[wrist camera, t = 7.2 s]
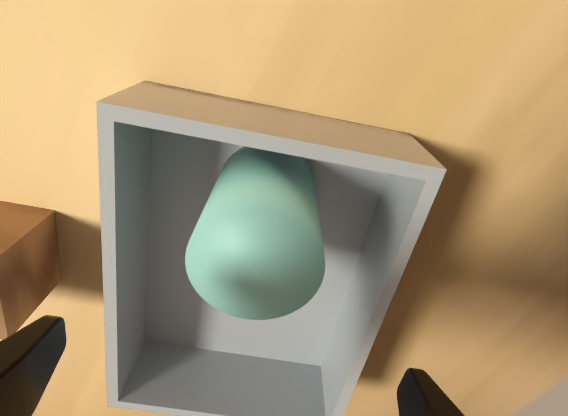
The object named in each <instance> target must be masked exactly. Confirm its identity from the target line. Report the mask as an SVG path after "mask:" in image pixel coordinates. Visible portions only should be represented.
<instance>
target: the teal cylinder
mask: <svg viewBox="0 0 568 416" xmlns="http://www.w3.org/2000/svg"><path fill="white" fill-rule="evenodd" d="M185 265H186V271H187V275H188V278H189V280H190V282H191V284H192V286H193V287H194V289H195V290H196V292H197V293H198V294H199V295H200V296H201V297H202V298H203V299H204V300H205V301H206V302H207V303H208V304H210V305H211V306H213V307H214V308H216V309H218V310H219V311H221V312H224V313H226V314H228V315H231V316H234V317H238V318H243V319H249V320H268V319H274V318H279V317H282V316H286V315H288V314H290V313H293V312H295V311H296V310H298V309H300V308H301V307H303V306H304V305H305V304H307V303H308V302H309V301H310V300H311V299H312V298H313V297H314V295H315V294H316V293H317V291H318V289H319V288H320V286H321V284H322V281H323V278H324V274H325V256H324V249H323V242H322V235H321V228H320V221H319V214H318V207H317V200H316V192H315V185H314V179H313V175H312V172H311V170H310V167H309V166H308V164H307V163H306V161H305V160H304V159H303V158H302V157H299V156H293V155H288V154H283V153H278V152H272V151H267V150H262V149H257V148H251V147H246V146H244V147H242V148H240V149H238V150H237V151H236V152H234V153H233V154H232V155H231V156H230V157H229V158H228V160H227V161H226V162H225V164H224V166H223V168H222V170H221V172H220V175H219V177H218V179H217V181H216V183H215V185H214V188H213V190H212V192H211V194H210V196H209V198H208V201H207V203H206V205H205V207H204V209H203V211H202V214H201V216H200V218H199V220H198V222H197V224H196V227H195V229H194V231H193V233H192V235H191V237H190V240H189V242H188V245H187V248H186V254H185Z"/></svg>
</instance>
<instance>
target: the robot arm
mask: <svg viewBox="0 0 568 416" xmlns="http://www.w3.org/2000/svg"><path fill="white" fill-rule="evenodd" d="M65 346H66V332H65V322H64V319H63V318H62V317H57V316H51V315H46V316H43V317H41V318H39V319H38V320H36V321H34V322H32V323H31V324H29V325H27V326H26V327H24V328H22V329H21V330H19V331H17V332H15V333H14V334H12V335H10V336H9V337H7V338H5V339H4V340H2V341H0V416H32V414H33V412H34V411H35V409H36V407H37V405H38V403H39V401H40V399H41V397H42V395H43V393H44V390H45V388H46V386H47V384H48V382H49V380H50V378H51V376H52V374H53V372H54V370H55V368H56V366H57V364H58V362H59V359H60V357H61V355H62V353H63V351H64V349H65ZM397 400H398V408H399V416H464V415H463V413H462V412H461V411H460V410H459V409H458V408H457V407H456V406H455V404H454V403H453V402H452V401H451V400H450V399H449V398H448V397H447V395H446V394H445V393H444V392H443V391H442V390H441V389H440V387H439V386H438V385H437V384H436V383H435V382H434V381H433V380H432V378H431V377H430V376H429V375H428V374H427V373H426V372H425V371H424V370H421V369H415V368H408V369H407V370H406V372H405V374H404V376H403V378H402V380H401V382H400V384H399V386H398V389H397Z"/></svg>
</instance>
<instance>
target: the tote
mask: <svg viewBox="0 0 568 416" xmlns="http://www.w3.org/2000/svg"><path fill="white" fill-rule="evenodd" d="M97 130H98V158H99V186H100V215H101V243H102V271H103V299H104V327H105V355H106V383H107V407H114V408H122V409H129V410H137V411H145V412H152V413H160V414H167V415H175V416H343V414H344V412H345V410H346V407H347V405H348V402H349V400H350V398H351V395H352V393H353V391H354V388H355V386H356V384H357V381H358V379H359V376H360V374H361V372H362V369H363V367H364V365H365V362H366V360H367V358H368V355H369V353H370V350H371V348H372V346H373V343H374V341H375V339H376V336H377V334H378V331H379V329H380V327H381V324H382V322H383V320H384V317H385V315H386V313H387V310H388V308H389V305H390V303H391V301H392V298H393V296H394V294H395V291H396V289H397V287H398V284H399V282H400V279H401V277H402V275H403V272H404V270H405V268H406V265H407V263H408V261H409V258H410V256H411V253H412V251H413V249H414V246H415V244H416V242H417V239H418V237H419V234H420V232H421V230H422V227H423V225H424V223H425V220H426V218H427V216H428V213H429V211H430V208H431V206H432V204H433V201H434V199H435V197H436V194H437V192H438V190H439V187H440V185H441V182H442V180H443V178H444V175H445V173H446V171H447V169H446V168H445V167H444V166H443V165H442V164H441V163H440V162H439V161H438V160H436V159H435V158H434V157H433V156H432V155H431V154H430V153H429V152H428V151H427V150H426V149H425V148H424V147H423V146H422V145H421V144H420V143H419V142H418V141H416V140H415V139H414V138H413V137H412V136H411V135H410V134H409V133H404V132H399V131H394V130H389V129H384V128H379V127H374V126H369V125H364V124H359V123H354V122H349V121H344V120H339V119H334V118H329V117H324V116H319V115H314V114H309V113H304V112H299V111H294V110H289V109H284V108H279V107H274V106H269V105H264V104H259V103H254V102H249V101H244V100H239V99H234V98H229V97H224V96H219V95H214V94H209V93H204V92H199V91H194V90H189V89H184V88H179V87H174V86H169V85H164V84H159V83H154V82H149V81H143V82H141V83H139V84H136V85H134V86H132V87H129V88H127V89H125V90H122V91H120V92H118V93H115V94H113V95H111V96H108V97H106V98H104V99H101V100H99V101H97ZM244 146H246V147H251V148H257V149H262V150H267V151H272V152H278V153H283V154H288V155H293V156H299V157H302V158H303V159H304V160H305V161H306V163H307V164H308V166H309V167H310V170H311V172H312V175H313V179H314V185H315V192H316V200H317V207H318V214H319V221H320V228H321V235H322V242H323V249H324V256H325V274H324V278H323V281H322V284H321V286H320V288H319V289H318V291H317V293H316V294H315V295H314V297H313V298H312V299H311V300H310V301H309V302H308V303H307V304H305V305H304V306H303V307H301V308H300V309H298V310H296V311H295V312H293V313H290V314H288V315H286V316H282V317H279V318H274V319H268V320H249V319H243V318H238V317H234V316H231V315H228V314H226V313H224V312H221V311H219V310H218V309H216V308H214V307H213V306H211V305H210V304H208V303H207V302H206V301H205V300H204V299H203V298H202V297H201V296H200V295H199V294H198V293H197V292H196V290H195V289H194V287H193V286H192V284H191V282H190V280H189V278H188V275H187V271H186V265H185V254H186V248H187V245H188V242H189V240H190V237H191V235H192V233H193V231H194V229H195V227H196V224H197V222H198V220H199V218H200V216H201V214H202V211H203V209H204V207H205V205H206V203H207V201H208V198H209V196H210V194H211V192H212V190H213V188H214V185H215V183H216V181H217V179H218V177H219V175H220V172H221V170H222V168H223V166H224V164H225V162H226V161H227V160H228V158H229V157H230V156H231V155H232V154H233V153H234V152H236V151H237V150H238V149H240V148H242V147H244Z"/></svg>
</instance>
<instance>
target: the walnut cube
mask: <svg viewBox="0 0 568 416" xmlns="http://www.w3.org/2000/svg"><path fill="white" fill-rule="evenodd" d="M60 280H61V273H60V262H59V251H58V240H57V229H56V218H55V210H50V209H44V208H38V207H32V206H27V205H21V204H15V203H10V202H4V201H0V339H1V340H4V339H5V338H7V337H9V336H10V335H12V334H14V333H15V332H16V331H17V330H18V329H19V328H20V327H21V325H22V324H23V323H24V322H25V321H26V320H27V318H28V317H29V316H30V315H31V314H32V313H33V312H34V310H35V309H36V308H37V307H38V306H39V305H40V304H41V302H42V301H43V300H44V299H45V298H46V297H47V295H48V294H49V293H50V292H51V291H52V290H53V289H54V287H55V286H56V285H57V284H58V283H59V282H60Z"/></svg>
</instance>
